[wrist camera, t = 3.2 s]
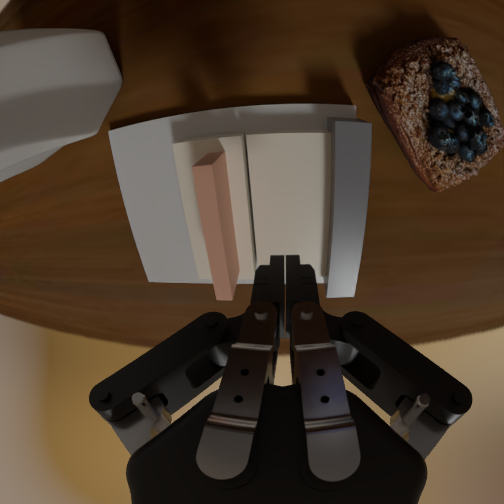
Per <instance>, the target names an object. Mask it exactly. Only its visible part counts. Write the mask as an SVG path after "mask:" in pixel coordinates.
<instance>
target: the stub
mask: <svg viewBox="0 0 504 504" xmlns="http://www.w3.org/2000/svg"><path fill="white" fill-rule="evenodd" d="M172 146H173V152H174V158H175V164H176V170H177V176H178V181H179V187H180V192H181V197H182V202H183V207H184V212H185V217H186V222H187V227H188V232H189V236H190V241H191V246H192V250H193V255H194V259H195V263H196V268H197V272H198V276H199V279H212V280H213V284H214V289H215V294H216V298H217V300H233V297H234V292H235V288H236V284H237V280H238V279H254V276H255V271H256V269H257V268H256V257H255V246H254V235H253V224H252V213H251V202H250V191H249V180H248V169H247V158H246V148H245V137H244V133H236V134H225V135H215V136H206V137H198V138H191V139H183V140H179V141H177V142H175V143H173V144H172Z"/></svg>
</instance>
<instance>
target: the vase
mask: <svg viewBox="0 0 504 504" xmlns="http://www.w3.org/2000/svg"><path fill="white" fill-rule="evenodd" d="M121 87H122V75H121V72H120V70H119V67H118V65H117V63H116V60H115V58H114V56H113V53H112V51H111V49H110V46H109V44H108V41H107V39H106V37H105V34H104V33H103V32H101V31H98V30H88V29H72V28H44V29H42V28H30V29H17V30H8V31H1V32H0V182H1V181H4V180H6V179H8V178H10V177H12V176H15V175H17V174H19V173H22V172H24V171H26V170H28V169H31V168H33V167H35V166H37V165H38V164H40V163H42V162H43V161H44V160H46V159H47V158H48V157H50V156H51V155H52V154H54V153H55V152H56V151H58V150H59V149H60V148H62V147H63V146H64V145H66V144H69V143H72V142H75V141H79V140H82V139H85V138H88V137H91V136H93V135H96V134H97V132H98V130H99V128H100V126H101V124H102V122H103V120H104V118H105V116H106V114H107V112H108V110H109V109H110V107H111V105H112V103H113V101H114V99H115V98H116V96H117V94H118V92H119V91H120V89H121Z"/></svg>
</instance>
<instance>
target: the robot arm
mask: <svg viewBox="0 0 504 504" xmlns="http://www.w3.org/2000/svg"><path fill="white" fill-rule="evenodd" d="M284 312H285V268H284V255H270V265H260V266H259V267H258V268H257V269H256V271H255V276H254V284H253V290H252V297H251V304H250V306H248V307H247V309H246V311H245V313H244V314H242V315H240V316H237V317H233V318H228V319H227V318H226V316H225V315H223V314H222V313H219V312H208V313H205V314H203V315H201V316H200V317H198V318H197V319H195V320H194V321H192V322H191V323H190V324H188V325H187V326H185V327H184V328H182V329H181V330H179V331H178V332H176V333H175V334H173V335H172V336H170V337H169V338H167V339H166V340H164V341H163V342H161V343H160V344H158V345H157V346H155V347H154V348H152V349H151V350H149V351H148V352H146V353H145V354H143V355H142V356H140V357H139V358H137V359H136V360H134V361H133V362H131V363H129V364H128V365H126V366H125V367H124V368H122V369H120V370H119V371H117V372H116V373H114V374H112V375H111V376H109V377H108V378H106V379H105V380H103V381H102V382H100V383H98V384H97V385H95V386H94V387H93V389H92V390H91V392H90V395H89V402H90V404H91V406H92V407H93V408H94V409H95V410H96V411H97V412H98V413H99V414H100V415H101V417H102V418H103V419H104V420H106V421H107V422H108V423H109V424H110V425H111V426H112V428H113V429H114V431H115V432H116V434H117V436H118V437H119V438H120V440H121V442H122V443H123V444H124V446H125V447H126V449H127V450H128V452H129V453H130V454H131V457H130V459H129V461H128V464H127V469H126V477H127V482H128V485H129V488H130V493H131V500H132V504H418V501H419V498H420V496H421V493H422V491H423V489H424V486H425V483H426V480H427V466H426V463H425V458H426V457H427V456H428V455H429V454H430V452H431V451H432V450H433V448H434V447H435V446H436V444H437V443H438V442H439V440H440V439H441V438H442V436H443V435H444V434H445V432H446V431H447V429H448V428H449V427H450V426H452V424H454V423H455V422H456V421H457V420H458V419H459V418H461V417H462V416H463V415H464V414H465V413H466V412H467V411H468V410H469V409H470V407H471V405H472V394H471V392H470V390H469V389H468V388H467V387H466V386H465V385H463V384H462V383H461V382H459V381H458V380H457V379H455V378H454V377H453V376H451V375H450V374H449V373H447V372H445V371H444V370H443V369H442V368H440V367H439V366H438V365H436V364H435V363H433V362H432V361H431V360H429V359H428V358H427V357H425V356H424V355H423V354H421V353H420V352H418V351H417V350H416V349H414V348H413V347H412V346H410V345H409V344H407V343H406V342H405V341H403V340H402V339H400V338H399V337H398V336H396V335H395V334H393V333H392V332H391V331H389V330H388V329H386V328H385V327H384V326H382V325H381V324H379V323H378V322H377V321H375V320H374V319H372V318H371V317H369V316H368V315H367V314H365V313H362V312H358V311H353V312H349V313H347V314H345V315H344V316H343V317H342V318H341V317H336V316H332V315H329V314H328V313H326V312H325V311H323V309H322V308H321V306H320V302H319V295H318V288H317V281H316V275H315V270H314V269H313V267H312V266H311V265H310V264H300V255H286V338H290V362H291V373H292V385H289V386H283V387H281V386H277V385H274V378H275V371H276V364H277V357H278V348H279V345H280V338H284ZM342 375H343V376H344V377H345V378H347V379H348V380H349V381H350V382H351V383H352V384H353V385H355V386H356V387H357V388H358V389H359V390H360V391H362V392H363V393H364V394H365V395H366V396H367V397H369V398H370V399H371V400H372V401H373V402H374V403H376V404H377V405H378V406H379V407H380V408H382V409H383V410H384V411H385V412H386V413H387V414H389V415H390V416H391V418H390V426H391V427H390V426H389V425H388V424H387V423H386V422H385V421H384V420H382V419H381V418H380V417H379V416H378V415H377V414H376V413H375V412H374V411H373V410H372V409H371V408H370V407H368V406H367V405H366V404H365V403H364V402H363V401H362V400H361V399H360V398H359V397H357V396H356V395H355V394H353V393H351V392H350V391H347V390H345V385H344V380H343V376H342ZM220 377H222V380H221V383H220V386H219V389H218V390H216V391H214V392H212V393H210V394H209V395H207V396H205V397H204V398H203V399H202V400H201V401H199V402H198V403H197V404H196V405H194V406H193V407H192V408H191V409H190V410H188V411H187V412H186V413H185V414H183V415H182V416H181V417H180V418H178V419H177V420H176V421H174V422H173V423H172V424H171V420H172V418H171V415H172V414H173V413H175V412H176V411H177V410H179V409H180V408H181V407H183V406H184V405H186V404H187V403H188V402H190V401H191V400H192V399H193V398H195V397H196V396H197V395H199V394H200V393H201V392H203V391H204V390H205V389H207V388H208V387H209V386H210V385H212V384H213V383H214V382H215V381H217V380H218V379H219V378H220ZM170 424H171V425H170Z"/></svg>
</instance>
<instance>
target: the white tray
mask: <svg viewBox="0 0 504 504" xmlns="http://www.w3.org/2000/svg"><path fill="white" fill-rule="evenodd" d="M108 132H109V138H110V143H111V148H112V153H113V158H114V163H115V167H116V172H117V176H118V180H119V184H120V188H121V192H122V196H123V200H124V204H125V208H126V211H127V215H128V218H129V222H130V225H131V229H132V232H133V235H134V238H135V242H136V245H137V248H138V251H139V254H140V257H141V260H142V263H143V266H144V269H145V272H146V275H147V277H148V280H149V282H171V283H213V280H212V279H199V276H198V272H197V268H196V263H195V259H194V255H193V250H192V246H191V241H190V236H189V232H188V227H187V222H186V217H185V212H184V207H183V202H182V197H181V192H180V187H179V181H178V176H177V170H176V164H175V158H174V152H173V146H172V144H173V143H175V142H177V141H179V140H183V139H191V138H198V137H206V136H215V135H225V134H236V133H244V137H245V148H246V158H247V169H248V180H249V191H250V202H251V213H252V224H253V235H254V246H255V257H256V268H258V267H259V266H260V265H270V255H284V268H285V284H286V255H300V264H310V265H311V266H312V267H313V269H314V270H315V275H316V281H317V283H324V285H325V291H326V298H331V297H354V293H355V288H356V283H357V277H358V271H359V265H360V259H361V252H362V245H363V238H364V230H365V222H366V213H367V203H368V192H369V179H370V163H371V135H372V123H370V122H367V121H364V120H361V119H356V106H354V105H340V104H270V105H254V106H241V107H231V108H222V109H213V110H206V111H199V112H192V113H186V114H180V115H175V116H169V117H164V118H159V119H155V120H150V121H146V122H141V123H137V124H133V125H129V126H125V127H121V128H118V129H114V130H111V131H108ZM237 284H254V279H238V280H237Z"/></svg>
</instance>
